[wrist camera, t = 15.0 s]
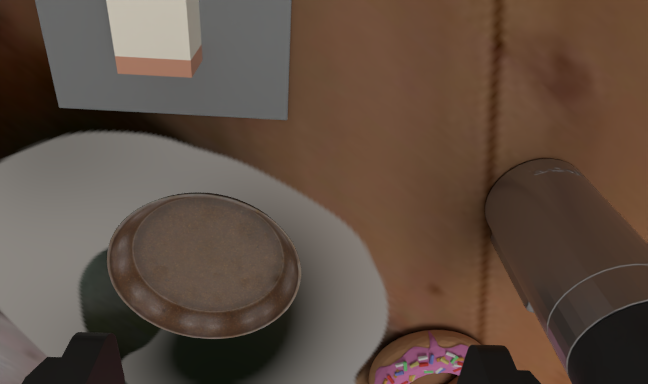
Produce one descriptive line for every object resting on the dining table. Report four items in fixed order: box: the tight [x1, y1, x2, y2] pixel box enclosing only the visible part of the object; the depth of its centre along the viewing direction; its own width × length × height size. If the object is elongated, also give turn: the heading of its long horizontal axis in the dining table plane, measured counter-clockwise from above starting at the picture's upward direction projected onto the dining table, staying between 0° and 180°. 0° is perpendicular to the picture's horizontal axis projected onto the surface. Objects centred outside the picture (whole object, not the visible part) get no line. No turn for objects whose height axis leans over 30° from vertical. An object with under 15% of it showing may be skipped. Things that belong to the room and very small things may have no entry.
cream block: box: [106, 0, 203, 78], centre depth 33 cm, size 5×9×4 cm, turn 176°
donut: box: [369, 330, 481, 384], centre depth 55 cm, size 14×14×5 cm
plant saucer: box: [107, 193, 301, 339], centre depth 47 cm, size 18×18×3 cm
